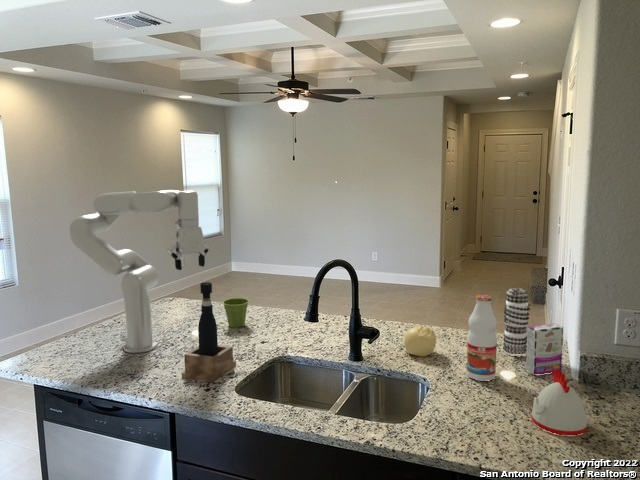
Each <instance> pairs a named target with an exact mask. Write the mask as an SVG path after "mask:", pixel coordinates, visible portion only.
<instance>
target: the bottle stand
mask: <svg viewBox="0 0 640 480" xmlns="http://www.w3.org/2000/svg"><path fill="white" fill-rule="evenodd" d="M233 348H234V347H233V346H229V345H221V344H218V354H216V355H215V356H206V355H199V345H198V346H196V347H195V348H193V349H191V350H190V351H187V352H186V353H184V355H183V357H184V371H183V372H181V378H184V379H190V380H196V381H202V382H207V383H208V382H209V383H213V382H215V381H217V379H218V378H220V377H222V376H223V375H224V374H226V373H227V372H228V371H230V370H231V369H233V368H234V367H235V366H236V365H237V361H236V360H234V352H233V350H234V349H233Z"/></svg>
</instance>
